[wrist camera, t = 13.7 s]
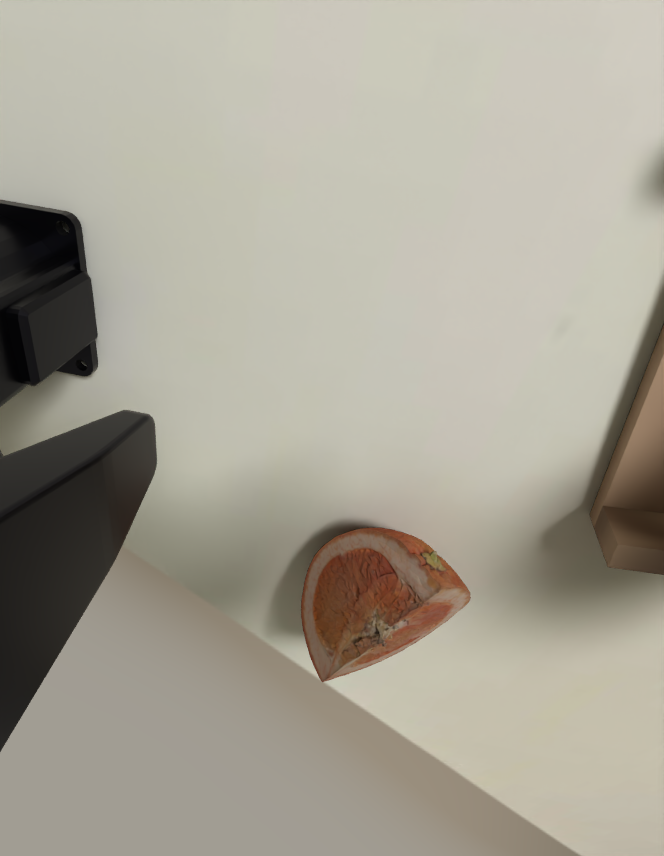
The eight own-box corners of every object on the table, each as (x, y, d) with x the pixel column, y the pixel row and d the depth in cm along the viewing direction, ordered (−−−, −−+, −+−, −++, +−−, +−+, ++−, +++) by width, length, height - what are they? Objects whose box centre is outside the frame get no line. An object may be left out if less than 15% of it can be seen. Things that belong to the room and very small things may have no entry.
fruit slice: (386, 468, 24) (377, 550, 20) (502, 546, 26) (515, 638, 21) (286, 566, 28) (261, 651, 24) (389, 628, 30) (382, 719, 26)
